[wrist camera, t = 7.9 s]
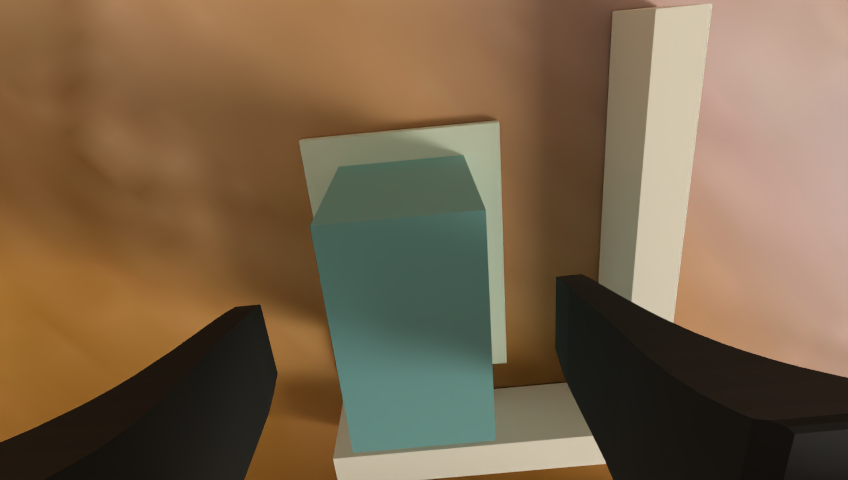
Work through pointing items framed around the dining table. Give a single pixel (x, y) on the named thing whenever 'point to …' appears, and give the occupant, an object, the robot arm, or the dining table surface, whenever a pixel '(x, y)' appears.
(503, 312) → the pad
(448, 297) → the teal brick
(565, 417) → the corner walls
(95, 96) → the dining table surface
